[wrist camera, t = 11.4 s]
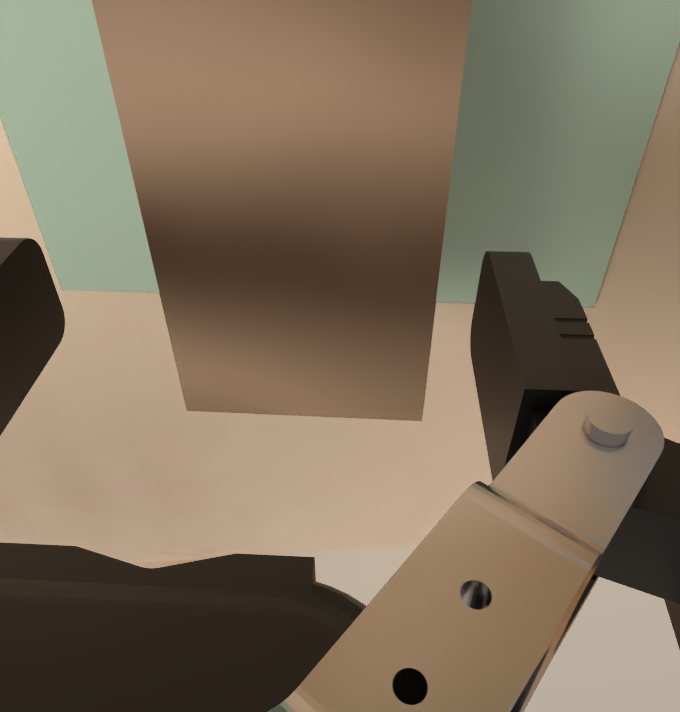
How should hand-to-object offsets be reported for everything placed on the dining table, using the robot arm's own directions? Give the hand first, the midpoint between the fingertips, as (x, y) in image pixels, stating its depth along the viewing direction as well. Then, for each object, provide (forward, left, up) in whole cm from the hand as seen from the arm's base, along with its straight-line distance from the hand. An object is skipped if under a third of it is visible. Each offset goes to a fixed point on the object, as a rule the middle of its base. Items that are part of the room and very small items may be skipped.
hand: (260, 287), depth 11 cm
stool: (0, 0, -10) cm, 10 cm away
